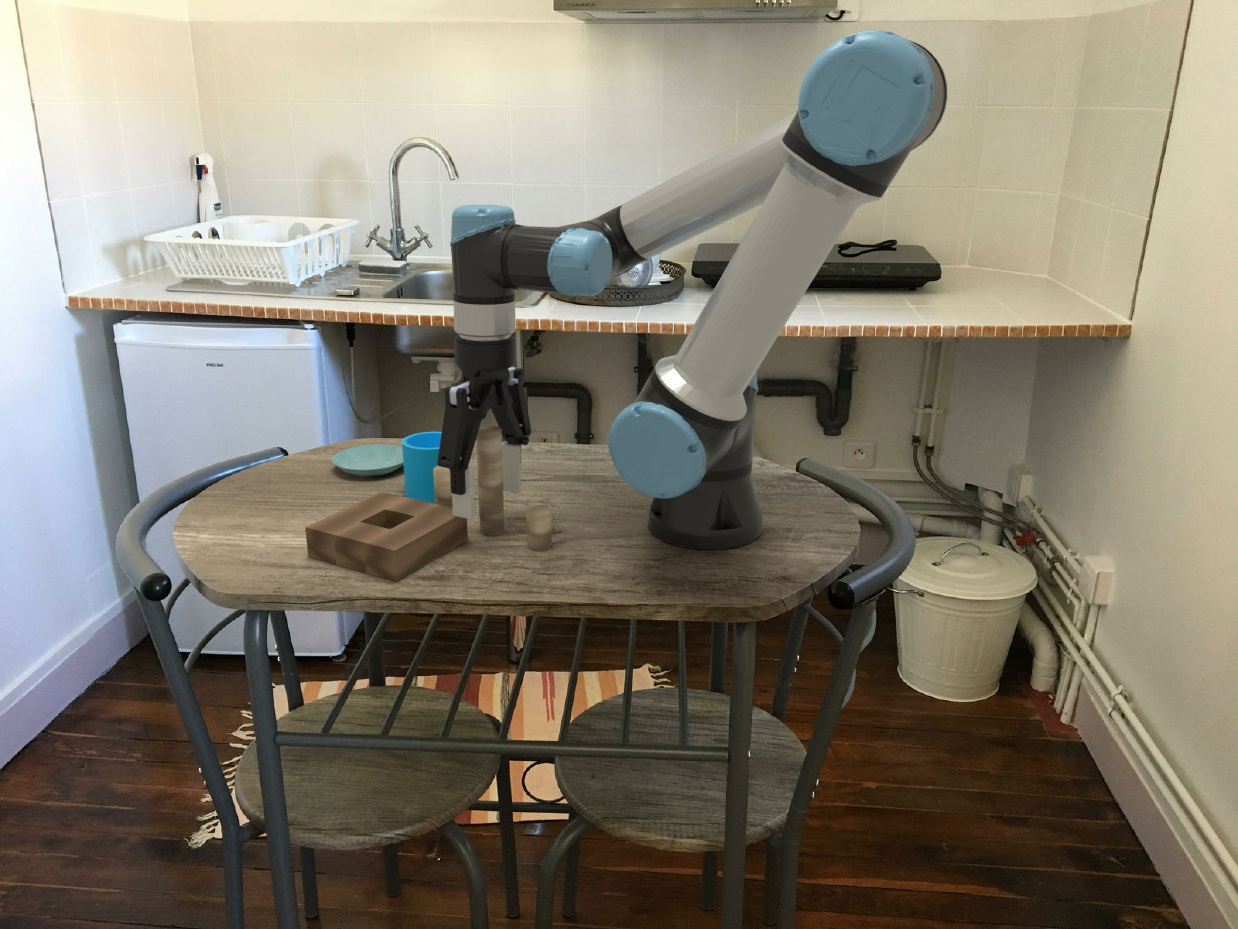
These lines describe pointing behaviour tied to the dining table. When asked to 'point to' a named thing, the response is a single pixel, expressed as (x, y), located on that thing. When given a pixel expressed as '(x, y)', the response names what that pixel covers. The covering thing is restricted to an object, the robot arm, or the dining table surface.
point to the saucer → (369, 460)
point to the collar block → (386, 535)
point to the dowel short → (539, 527)
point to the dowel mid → (442, 486)
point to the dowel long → (490, 480)
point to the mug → (420, 465)
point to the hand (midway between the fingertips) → (487, 503)
